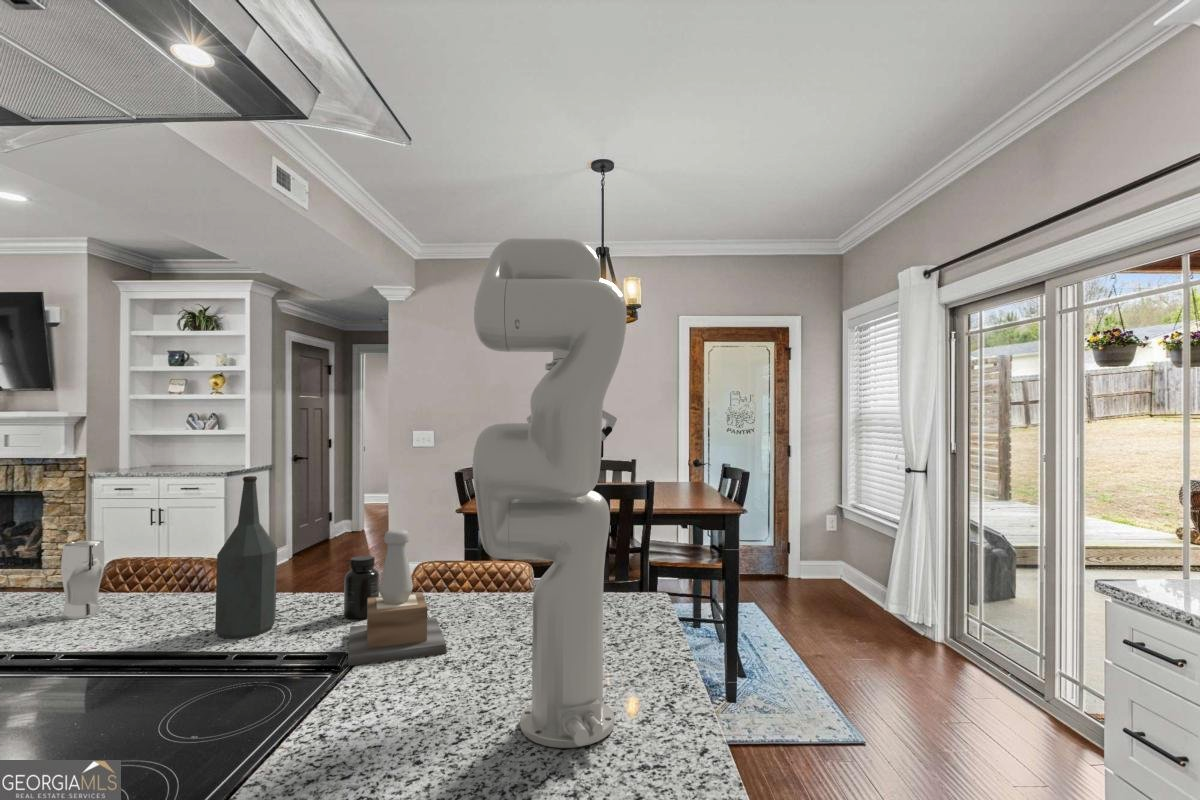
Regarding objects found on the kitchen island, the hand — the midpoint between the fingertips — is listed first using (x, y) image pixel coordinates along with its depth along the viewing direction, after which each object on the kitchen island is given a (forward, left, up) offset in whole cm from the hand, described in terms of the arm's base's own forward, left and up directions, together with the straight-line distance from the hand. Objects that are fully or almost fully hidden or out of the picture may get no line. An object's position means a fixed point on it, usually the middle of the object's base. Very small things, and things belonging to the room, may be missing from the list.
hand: (572, 462), depth 112 cm
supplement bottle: (+32, +36, -34) cm, 59 cm away
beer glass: (+53, +91, -34) cm, 111 cm away
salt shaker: (+12, +30, -26) cm, 41 cm away
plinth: (+12, +30, -33) cm, 46 cm away
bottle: (+30, +57, -34) cm, 73 cm away
